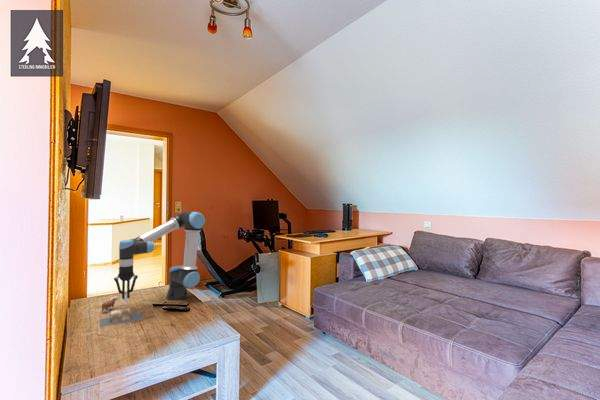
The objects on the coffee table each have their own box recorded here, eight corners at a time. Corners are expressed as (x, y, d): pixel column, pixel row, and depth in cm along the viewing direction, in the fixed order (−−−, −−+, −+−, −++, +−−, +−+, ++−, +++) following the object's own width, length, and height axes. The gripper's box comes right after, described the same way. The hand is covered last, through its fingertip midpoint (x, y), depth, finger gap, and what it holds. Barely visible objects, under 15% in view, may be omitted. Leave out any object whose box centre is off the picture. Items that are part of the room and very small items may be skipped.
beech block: (129, 308, 187) (110, 311, 181) (130, 310, 182) (110, 314, 177) (129, 316, 187) (110, 319, 181) (130, 319, 182) (110, 322, 177)
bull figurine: (120, 307, 202) (120, 295, 202) (105, 315, 189) (105, 302, 189) (114, 306, 203) (114, 294, 202) (98, 314, 189) (99, 301, 189)
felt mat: (141, 312, 193) (141, 312, 193) (142, 319, 183) (143, 319, 183) (100, 319, 182) (100, 319, 182) (99, 327, 171) (99, 327, 171)
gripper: (137, 263, 189) (137, 300, 190) (113, 265, 182) (113, 303, 183) (138, 265, 183) (138, 303, 183) (113, 267, 176) (113, 307, 176)
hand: (125, 303), depth 183 cm, fingers closed
